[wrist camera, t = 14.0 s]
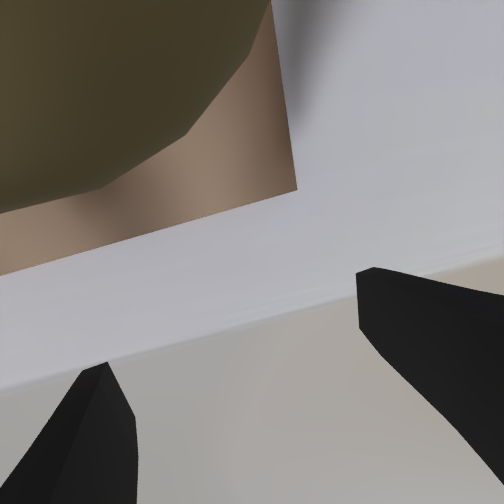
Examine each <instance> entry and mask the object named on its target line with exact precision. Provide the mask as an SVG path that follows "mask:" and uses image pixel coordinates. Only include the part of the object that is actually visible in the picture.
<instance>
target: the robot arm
mask: <svg viewBox="0 0 504 504" xmlns="http://www.w3.org/2000/svg"><path fill="white" fill-rule="evenodd" d="M356 285H357V300H358V315H359V328H360V330H361V331H362V332H363V333H364V335H365V336H366V338H367V339H368V340H369V341H370V343H371V344H372V345H373V346H374V348H375V349H376V350H377V351H378V352H379V354H380V355H381V356H382V357H383V358H384V359H385V360H386V361H387V362H388V363H389V364H390V365H391V366H392V367H393V368H394V369H395V370H396V371H397V372H398V373H400V375H401V376H402V377H403V378H404V379H405V380H406V381H407V382H409V383H410V384H411V385H412V386H413V387H414V388H415V389H416V390H417V391H418V392H419V393H420V394H421V395H422V396H423V397H424V398H425V399H426V400H427V401H428V402H429V403H430V404H431V405H432V406H434V408H436V410H438V411H439V412H440V413H441V414H442V415H443V416H444V417H445V418H446V419H447V420H448V421H449V423H451V425H452V426H453V427H454V428H455V429H456V430H457V431H458V432H459V433H460V434H461V435H462V437H463V438H464V439H465V440H466V441H467V442H468V444H469V445H470V446H471V447H472V448H473V449H474V450H475V452H476V453H477V454H478V455H479V456H480V457H481V458H482V460H483V461H484V462H485V463H486V464H487V465H488V467H489V468H490V469H491V470H492V471H493V473H494V474H495V475H496V476H497V477H498V479H499V480H500V481H501V482H502V483H503V485H504V296H503V295H498V294H493V293H488V292H483V291H478V290H473V289H468V288H464V287H459V286H455V285H451V284H447V283H442V282H438V281H434V280H430V279H426V278H422V277H418V276H413V275H409V274H405V273H401V272H397V271H392V270H387V269H382V268H376V267H372V268H370V269H367V270H364V271H361V272H358V273H356ZM137 445H138V444H137V433H136V421H135V416H134V414H133V412H132V410H131V408H130V406H129V404H128V402H127V400H126V398H125V396H124V394H123V392H122V390H121V388H120V386H119V384H118V382H117V380H116V378H115V376H114V374H113V372H112V370H111V368H110V366H109V364H108V362H105V363H102V364H99V365H97V366H94V367H91V368H88V369H85V370H83V371H82V372H81V373H80V374H79V376H78V377H77V379H76V380H75V382H74V383H73V385H72V386H71V387H70V389H69V390H68V392H67V393H66V395H65V397H64V398H63V400H62V401H61V403H60V404H59V405H58V407H57V408H56V410H55V411H54V413H53V415H52V416H51V417H50V419H49V420H48V422H47V423H46V425H45V426H44V428H43V429H42V431H41V432H40V434H39V435H38V436H37V438H36V439H35V441H34V442H33V444H32V446H31V447H30V448H29V450H28V451H27V452H26V454H25V455H24V456H23V458H22V459H21V460H20V462H19V463H18V465H17V466H16V467H15V469H14V470H13V471H12V473H11V474H10V475H9V477H8V478H7V479H6V481H5V482H4V483H3V485H2V486H1V488H0V504H137V481H138V446H137Z"/></svg>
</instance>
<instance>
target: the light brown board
mask: <svg viewBox="0 0 504 504" xmlns="http://www.w3.org/2000/svg"><path fill="white" fill-rule="evenodd" d="M296 190H297V184H296V177H295V170H294V163H293V155H292V148H291V141H290V134H289V127H288V120H287V113H286V105H285V98H284V91H283V84H282V77H281V70H280V63H279V55H278V48H277V41H276V34H275V27H274V20H273V13H272V5H271V0H270V1H269V4H268V7H267V9H266V12H265V14H264V17H263V20H262V22H261V25H260V28H259V30H258V33H257V35H256V38H255V41H254V43H253V46H252V48H251V51H250V54H249V56H248V57H247V58H246V60H245V61H244V62H243V63H242V65H241V66H240V67H239V68H238V70H237V71H236V72H235V73H234V75H233V76H232V77H231V79H230V80H229V81H228V82H227V84H226V85H225V86H224V87H223V89H222V90H221V91H220V92H219V94H218V95H217V96H216V97H215V99H214V100H213V101H212V102H211V104H210V105H209V106H208V108H207V109H206V110H205V111H204V113H203V114H202V115H201V116H200V118H199V119H198V120H197V121H196V123H195V124H194V125H193V126H192V128H191V129H190V130H189V132H188V133H187V134H186V135H185V136H183V137H182V138H180V139H179V140H177V141H176V142H174V143H172V144H171V145H169V146H168V147H166V148H164V149H163V150H161V151H160V152H158V153H157V154H155V155H153V156H152V157H150V158H149V159H147V160H145V161H144V162H142V163H141V164H139V165H138V166H136V167H134V168H133V169H131V170H130V171H128V172H127V173H125V174H123V175H122V176H120V177H119V178H117V179H115V180H114V181H112V182H111V183H109V184H108V185H106V186H104V187H103V188H101V189H98V190H94V191H90V192H86V193H82V194H78V195H74V196H70V197H66V198H62V199H58V200H54V201H50V202H46V203H42V204H38V205H34V206H30V207H26V208H22V209H18V210H14V211H10V212H6V213H2V214H0V276H2V275H5V274H8V273H12V272H15V271H19V270H22V269H26V268H29V267H33V266H36V265H40V264H43V263H47V262H50V261H53V260H57V259H60V258H64V257H67V256H71V255H74V254H78V253H81V252H85V251H88V250H91V249H95V248H98V247H102V246H105V245H109V244H112V243H116V242H119V241H123V240H126V239H130V238H133V237H136V236H140V235H143V234H147V233H150V232H154V231H157V230H161V229H164V228H168V227H171V226H175V225H178V224H181V223H185V222H188V221H192V220H195V219H199V218H202V217H206V216H209V215H213V214H216V213H219V212H223V211H226V210H230V209H233V208H237V207H240V206H244V205H247V204H251V203H254V202H258V201H261V200H264V199H268V198H271V197H275V196H278V195H282V194H285V193H289V192H292V191H296Z"/></svg>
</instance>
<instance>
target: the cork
mask: <svg viewBox="0 0 504 504" xmlns="http://www.w3.org/2000/svg"><path fill="white" fill-rule="evenodd" d="M269 1H270V0H0V214H2V213H6V212H10V211H14V210H18V209H22V208H26V207H30V206H34V205H38V204H42V203H46V202H50V201H54V200H58V199H62V198H66V197H70V196H74V195H78V194H82V193H86V192H90V191H94V190H98V189H101V188H103V187H104V186H106V185H108V184H109V183H111V182H112V181H114V180H115V179H117V178H119V177H120V176H122V175H123V174H125V173H127V172H128V171H130V170H131V169H133V168H134V167H136V166H138V165H139V164H141V163H142V162H144V161H145V160H147V159H149V158H150V157H152V156H153V155H155V154H157V153H158V152H160V151H161V150H163V149H164V148H166V147H168V146H169V145H171V144H172V143H174V142H176V141H177V140H179V139H180V138H182V137H183V136H185V135H186V134H187V133H188V132H189V130H190V129H191V128H192V126H193V125H194V124H195V123H196V121H197V120H198V119H199V118H200V116H201V115H202V114H203V113H204V111H205V110H206V109H207V108H208V106H209V105H210V104H211V102H212V101H213V100H214V99H215V97H216V96H217V95H218V94H219V92H220V91H221V90H222V89H223V87H224V86H225V85H226V84H227V82H228V81H229V80H230V79H231V77H232V76H233V75H234V73H235V72H236V71H237V70H238V68H239V67H240V66H241V65H242V63H243V62H244V61H245V60H246V58H247V57H248V56H249V54H250V51H251V48H252V46H253V43H254V41H255V38H256V35H257V33H258V30H259V28H260V25H261V22H262V20H263V17H264V14H265V12H266V9H267V7H268V4H269Z"/></svg>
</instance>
